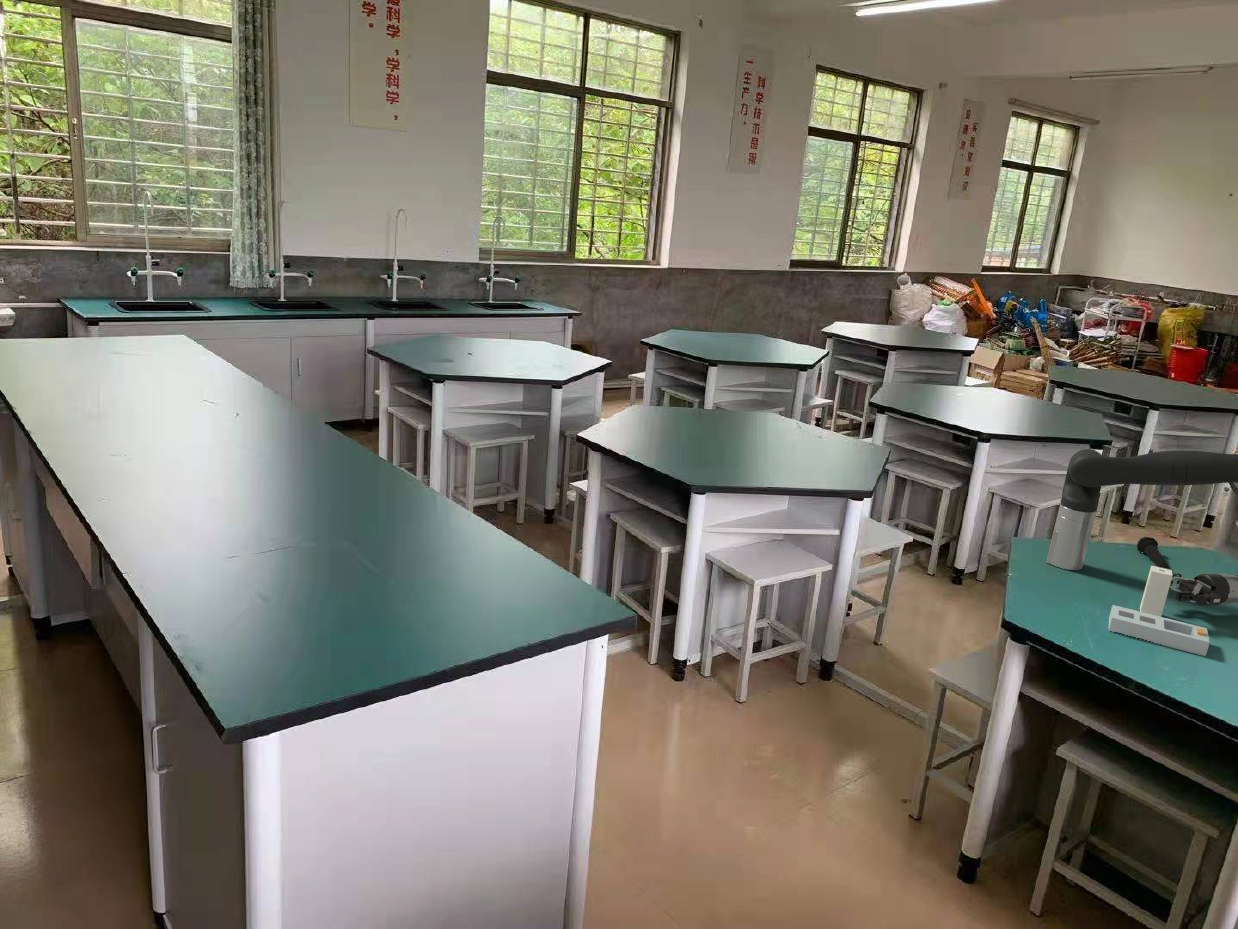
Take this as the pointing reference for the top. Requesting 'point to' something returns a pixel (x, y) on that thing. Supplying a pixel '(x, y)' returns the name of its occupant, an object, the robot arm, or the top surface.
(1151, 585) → the block
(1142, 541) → the microphone
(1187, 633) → the power strip
